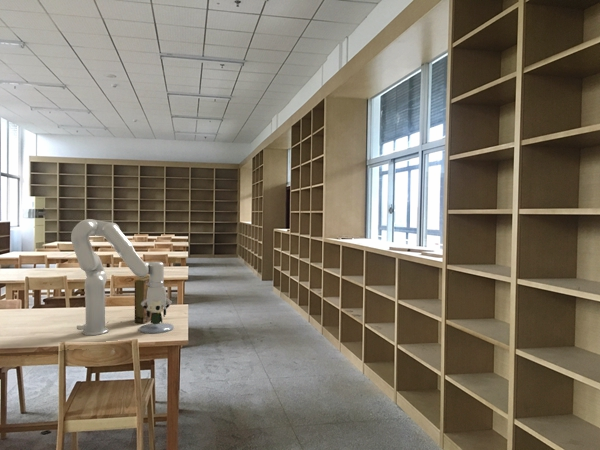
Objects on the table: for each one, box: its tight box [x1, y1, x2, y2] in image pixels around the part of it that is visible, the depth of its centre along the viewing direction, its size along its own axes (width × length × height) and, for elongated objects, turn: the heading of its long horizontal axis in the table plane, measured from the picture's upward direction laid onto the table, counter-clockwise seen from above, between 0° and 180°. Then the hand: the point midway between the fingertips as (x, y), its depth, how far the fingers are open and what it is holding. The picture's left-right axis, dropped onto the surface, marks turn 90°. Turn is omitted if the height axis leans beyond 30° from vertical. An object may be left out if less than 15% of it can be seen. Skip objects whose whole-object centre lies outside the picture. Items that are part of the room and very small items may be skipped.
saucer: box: [138, 322, 175, 334], centre depth 260 cm, size 18×18×1 cm
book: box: [134, 275, 152, 324], centre depth 278 cm, size 16×6×25 cm, turn 168°
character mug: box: [148, 301, 164, 324], centre depth 259 cm, size 11×7×13 cm, turn 150°
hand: (156, 316), depth 260 cm, fingers closed on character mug, 7 cm apart
